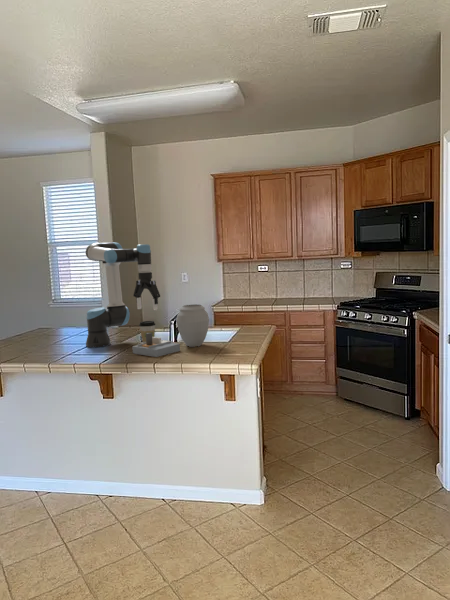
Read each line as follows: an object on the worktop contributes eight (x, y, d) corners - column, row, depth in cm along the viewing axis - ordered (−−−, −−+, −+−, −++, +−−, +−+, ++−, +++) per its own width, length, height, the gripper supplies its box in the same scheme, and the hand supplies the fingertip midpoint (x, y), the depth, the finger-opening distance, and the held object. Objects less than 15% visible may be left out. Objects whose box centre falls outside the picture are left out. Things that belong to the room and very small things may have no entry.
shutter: (150, 343, 269) (150, 337, 268) (160, 341, 275) (160, 334, 274) (160, 344, 263) (159, 338, 263) (170, 342, 270) (169, 336, 269)
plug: (150, 351, 267) (149, 332, 266) (157, 352, 264) (156, 332, 262) (142, 353, 263) (141, 333, 262) (149, 354, 259) (148, 334, 258)
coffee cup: (153, 347, 276) (151, 323, 275) (138, 348, 278) (136, 323, 277) (159, 344, 286) (157, 320, 284) (144, 344, 288) (142, 320, 286)
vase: (172, 348, 271) (169, 307, 269) (186, 342, 289) (184, 303, 287) (202, 349, 264) (200, 307, 262) (215, 343, 282) (213, 303, 280)
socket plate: (132, 353, 264) (132, 344, 263) (156, 347, 278) (155, 339, 277) (156, 357, 251) (155, 348, 250) (179, 350, 265) (179, 342, 264)
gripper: (125, 272, 264) (128, 309, 266) (154, 272, 248) (157, 311, 250) (136, 271, 270) (138, 307, 272) (165, 271, 254) (167, 309, 256)
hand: (147, 309), depth 261 cm, fingers open, 13 cm apart
